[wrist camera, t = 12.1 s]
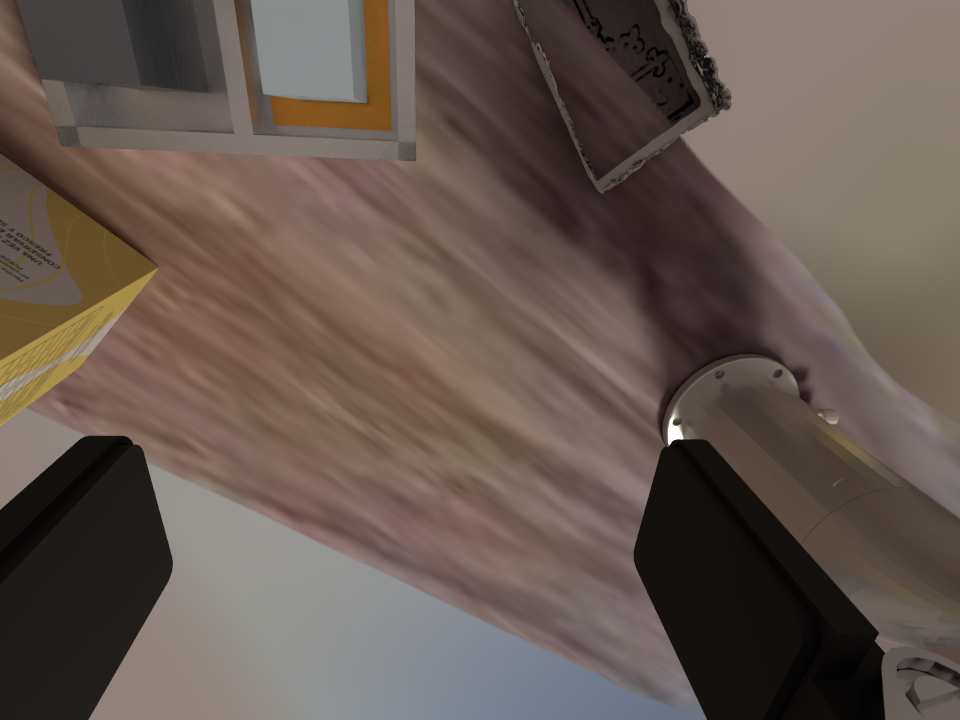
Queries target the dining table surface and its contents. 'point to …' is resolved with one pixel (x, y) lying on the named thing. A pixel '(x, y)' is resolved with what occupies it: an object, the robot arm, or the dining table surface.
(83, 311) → the pasta box
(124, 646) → the robot arm
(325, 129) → the grey open box
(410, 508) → the dining table surface
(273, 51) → the grey block
